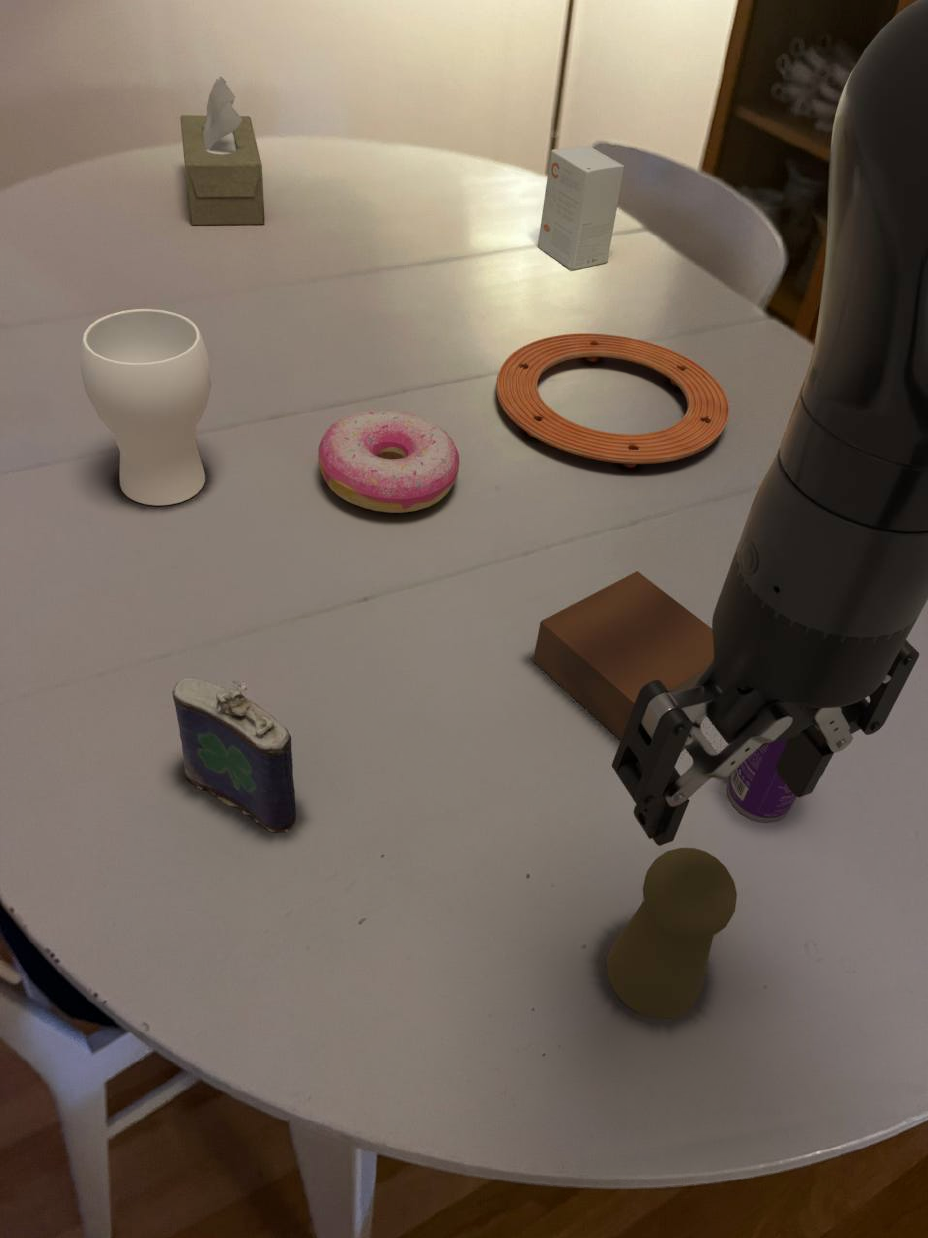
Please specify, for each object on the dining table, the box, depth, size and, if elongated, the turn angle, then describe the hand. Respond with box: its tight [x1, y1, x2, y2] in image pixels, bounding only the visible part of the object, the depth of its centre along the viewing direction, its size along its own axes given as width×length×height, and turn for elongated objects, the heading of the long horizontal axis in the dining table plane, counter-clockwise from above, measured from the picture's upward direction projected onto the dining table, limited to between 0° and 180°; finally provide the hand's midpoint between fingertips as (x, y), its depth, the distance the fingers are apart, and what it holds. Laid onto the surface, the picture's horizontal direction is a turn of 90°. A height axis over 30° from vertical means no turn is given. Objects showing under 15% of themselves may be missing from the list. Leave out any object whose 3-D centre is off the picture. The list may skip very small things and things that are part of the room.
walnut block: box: [532, 570, 714, 741], centre depth 81 cm, size 11×11×4 cm
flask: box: [171, 677, 298, 833], centre depth 67 cm, size 9×3×11 cm, turn 58°
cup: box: [80, 308, 212, 506], centre depth 91 cm, size 11×11×15 cm
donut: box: [318, 409, 460, 514], centre depth 97 cm, size 14×13×5 cm
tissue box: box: [179, 76, 266, 226], centre depth 138 cm, size 19×10×16 cm, turn 13°
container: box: [726, 739, 797, 823], centre depth 70 cm, size 5×5×15 cm
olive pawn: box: [606, 847, 738, 1019], centre depth 60 cm, size 6×6×11 cm
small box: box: [537, 144, 625, 271], centre depth 135 cm, size 8×6×13 cm
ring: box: [495, 332, 731, 468], centre depth 111 cm, size 25×25×2 cm
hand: (725, 805), depth 52 cm, fingers open, 8 cm apart
